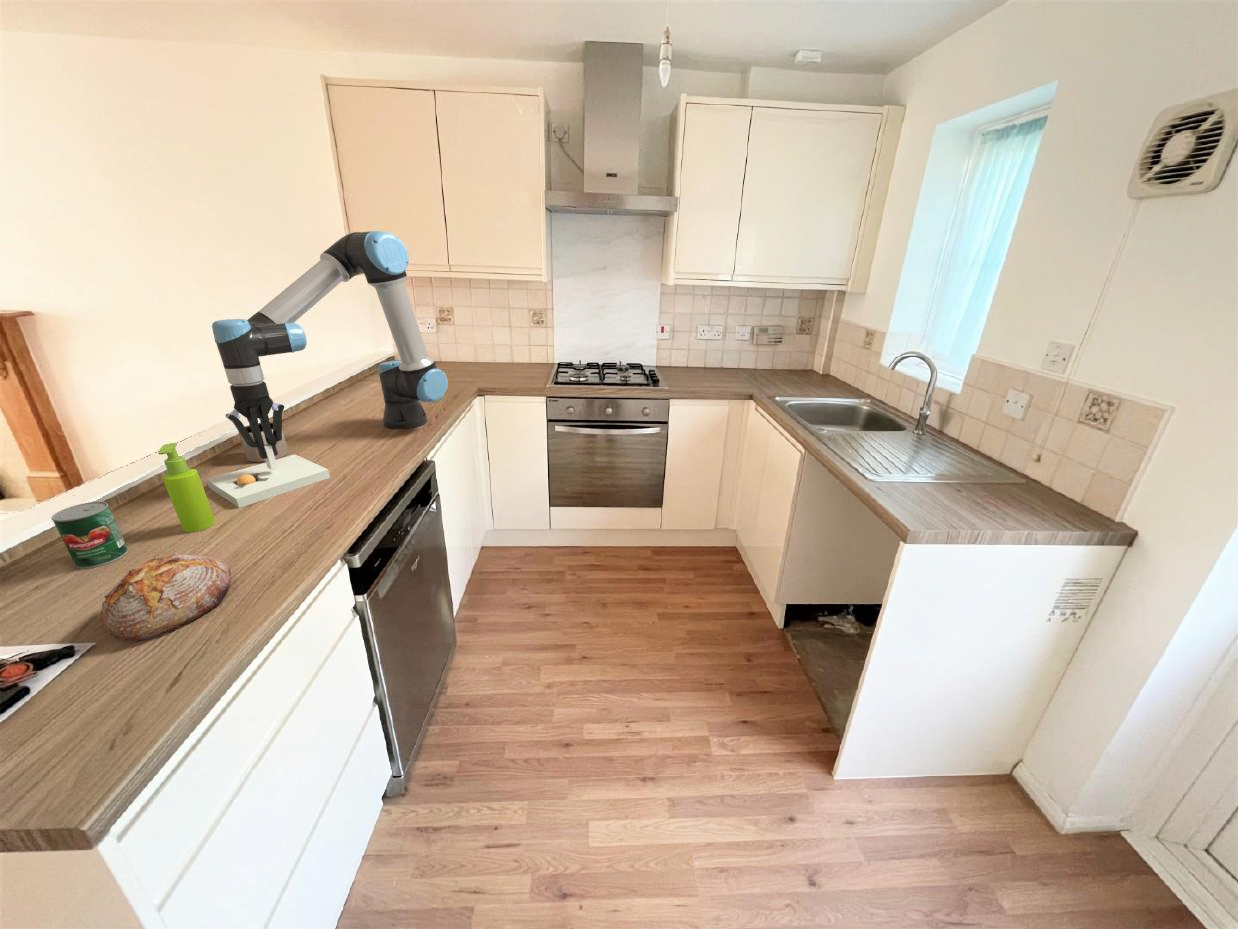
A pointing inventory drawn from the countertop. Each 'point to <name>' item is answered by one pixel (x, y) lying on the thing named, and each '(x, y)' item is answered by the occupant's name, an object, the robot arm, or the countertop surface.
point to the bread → (164, 595)
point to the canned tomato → (90, 534)
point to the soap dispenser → (186, 492)
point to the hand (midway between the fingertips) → (272, 467)
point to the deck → (268, 480)
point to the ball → (245, 479)
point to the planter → (253, 452)
